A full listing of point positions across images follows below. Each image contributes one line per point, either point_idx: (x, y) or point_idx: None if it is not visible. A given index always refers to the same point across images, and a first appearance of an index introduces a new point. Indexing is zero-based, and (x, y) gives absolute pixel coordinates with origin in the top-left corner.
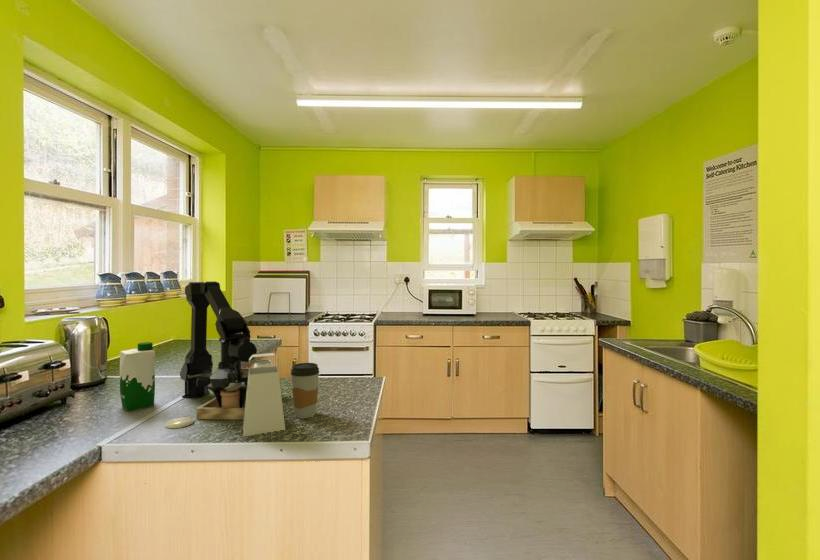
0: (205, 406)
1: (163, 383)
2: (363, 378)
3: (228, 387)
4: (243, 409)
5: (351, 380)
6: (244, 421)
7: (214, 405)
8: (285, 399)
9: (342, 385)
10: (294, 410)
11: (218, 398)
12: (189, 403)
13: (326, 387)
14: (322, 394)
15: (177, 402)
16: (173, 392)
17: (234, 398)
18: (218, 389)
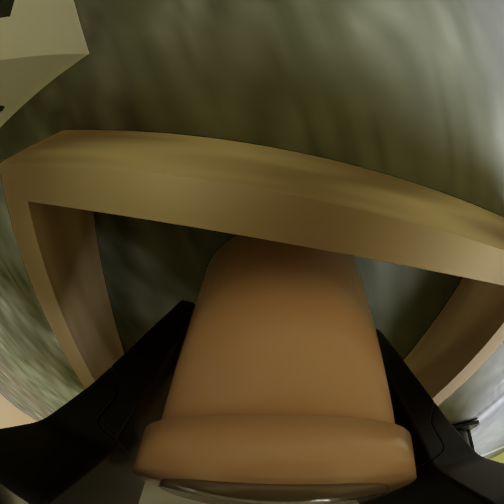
0: (488, 327)
1: (475, 450)
2: (29, 415)
3: None
4: (53, 163)
5: (40, 417)
6: (75, 58)
7: None
8: None
9: (31, 404)
10: None
11: (417, 403)
12: (477, 395)
13: (52, 411)
14: (19, 376)
15: (500, 395)
16: (479, 432)
17: (201, 383)
18: (432, 497)
